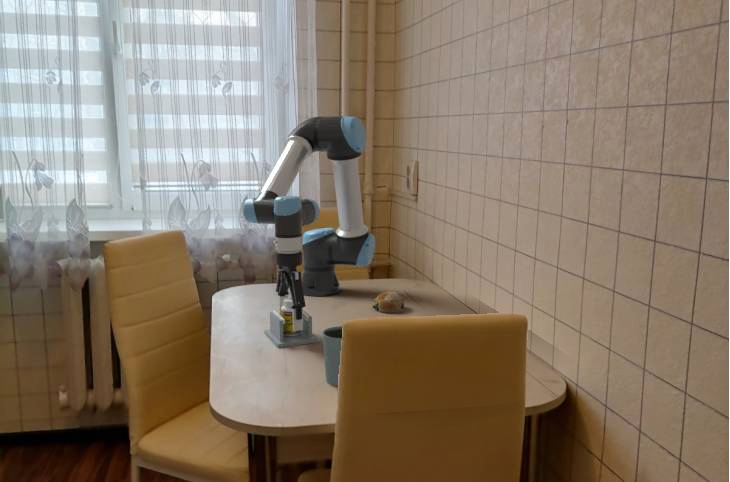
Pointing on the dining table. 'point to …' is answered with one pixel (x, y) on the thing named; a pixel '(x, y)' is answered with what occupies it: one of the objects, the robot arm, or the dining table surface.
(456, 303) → the dining table surface
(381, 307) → the brown domed lump
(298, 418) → the dining table surface
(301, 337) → the clip cradle
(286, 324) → the supplement bottle
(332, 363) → the grey-green cup
